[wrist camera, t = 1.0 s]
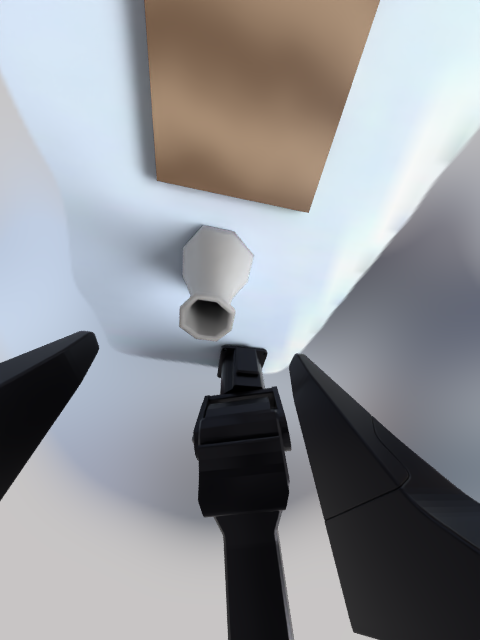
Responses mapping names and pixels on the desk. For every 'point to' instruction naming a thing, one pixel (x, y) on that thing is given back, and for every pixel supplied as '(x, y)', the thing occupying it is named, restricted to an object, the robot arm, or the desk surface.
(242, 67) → the flat brown panel
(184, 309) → the flask
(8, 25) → the desk surface
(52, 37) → the desk surface
